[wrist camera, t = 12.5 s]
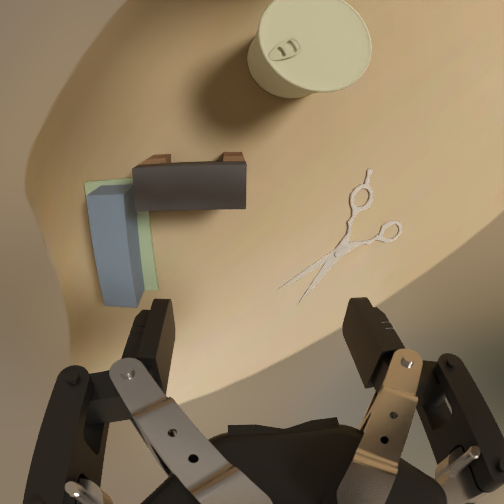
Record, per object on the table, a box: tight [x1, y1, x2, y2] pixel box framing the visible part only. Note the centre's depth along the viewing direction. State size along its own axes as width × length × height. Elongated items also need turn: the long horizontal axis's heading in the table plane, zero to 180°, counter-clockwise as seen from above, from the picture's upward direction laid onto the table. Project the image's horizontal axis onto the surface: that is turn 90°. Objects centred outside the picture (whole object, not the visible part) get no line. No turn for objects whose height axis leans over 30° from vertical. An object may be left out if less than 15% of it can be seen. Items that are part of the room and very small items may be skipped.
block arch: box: [132, 152, 247, 212], centre depth 30 cm, size 4×10×8 cm, turn 89°
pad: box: [84, 178, 159, 291], centre depth 36 cm, size 15×8×1 cm, turn 179°
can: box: [247, 0, 372, 98], centre depth 23 cm, size 9×9×12 cm
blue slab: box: [86, 184, 145, 308], centre depth 34 cm, size 14×4×4 cm, turn 177°
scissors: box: [279, 168, 402, 304], centre depth 39 cm, size 11×1×20 cm
